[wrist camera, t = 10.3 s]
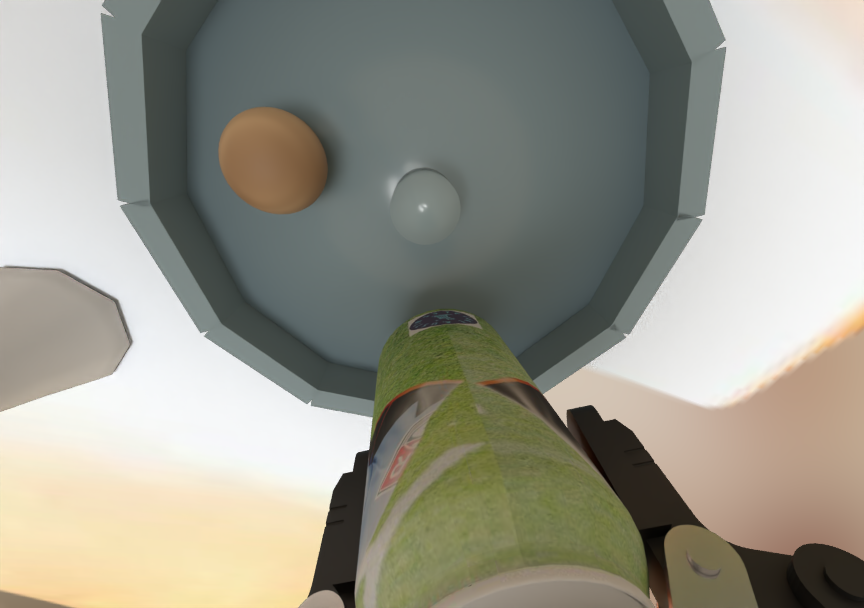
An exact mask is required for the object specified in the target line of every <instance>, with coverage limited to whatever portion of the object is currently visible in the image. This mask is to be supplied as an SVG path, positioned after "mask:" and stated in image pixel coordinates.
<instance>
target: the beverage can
mask: <svg viewBox="0 0 864 608" xmlns="http://www.w3.org/2000/svg"><path fill="white" fill-rule="evenodd" d="M355 605H356V608H655V606H654V604H653V603H652V602H651V600H650V596H649V574H648V566H647V560H646V555H645V550H644V545H643V542H642V538H641V536H640V533H639V531H638V529H637V527H636V525H635V523H634V521H633V519H632V517H631V515H630V513H629V512H628V510H627V509H626V507H625V506H624V505H623V503H622V502H621V501H620V499H619V498H618V496H617V495H616V494H615V492H614V491H613V490H612V488H611V487H610V486H609V484H608V483H607V481H606V480H605V479H604V477H603V476H602V475H601V473H600V472H599V471H598V469H597V468H596V466H595V465H594V464H593V462H592V461H591V460H590V458H589V457H588V456H587V454H586V453H585V451H584V450H583V449H582V447H581V446H580V445H579V443H578V442H577V441H576V439H575V438H574V436H573V435H572V434H571V432H570V431H569V430H568V428H567V427H566V426H565V424H564V423H563V421H562V420H561V419H560V418H559V416H558V415H557V413H556V412H555V411H554V409H553V408H552V406H551V405H550V404H549V403H548V401H547V400H546V398H545V397H544V396H543V394H542V393H541V391H540V390H539V389H538V387H537V386H536V385H535V383H534V382H533V381H532V379H531V378H530V376H529V375H528V374H527V372H526V371H525V370H524V368H523V367H522V366H521V364H520V363H519V361H518V360H517V359H516V357H515V356H514V355H513V353H512V352H511V351H510V349H509V348H508V346H507V345H506V344H505V342H504V341H503V340H502V338H501V337H500V335H499V334H498V333H497V332H496V331H495V329H494V328H493V327H492V326H491V325H490V324H489V323H487V322H486V321H485V320H484V319H482V318H480V317H478V316H476V315H475V314H472V313H469V312H466V311H463V310H457V309H436V310H431V311H427V312H424V313H421V314H418V315H416V316H414V317H412V318H411V319H409V320H407V321H405V322H404V323H403V324H402V325H401V326H399V327H398V328H397V329H396V330H395V331H394V332H393V333H392V335H391V336H390V337H389V338H388V340H387V342H386V344H385V345H384V347H383V349H382V352H381V355H380V358H379V364H378V372H377V382H376V391H375V401H374V411H373V420H372V430H371V439H370V449H369V458H368V468H367V477H366V487H365V497H364V506H363V516H362V525H361V535H360V544H359V554H358V563H357V573H356V582H355Z"/></svg>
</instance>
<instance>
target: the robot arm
mask: <svg viewBox="0 0 864 608" xmlns="http://www.w3.org/2000/svg"><path fill="white" fill-rule="evenodd" d="M567 426H568V430H569V431H570V432H571V434H572V435H573V436H574V438H575V439H576V441H577V442H578V443H579V445H580V446H581V447H582V449H583V450H584V451H585V453H586V454H587V456H588V457H589V458H590V460H591V461H592V462H593V464H594V465H595V466H596V468H597V469H598V471H599V472H600V473H601V475H602V476H603V477H604V479H605V480H606V481H607V483H608V484H609V486H610V487H611V488H612V490H613V491H614V492H615V494H616V495H617V496H618V498H619V499H620V501H621V502H622V503H623V505H624V506H625V507H626V509H627V510H628V512H629V513H630V515H631V517H632V519H633V521H634V523H635V525H636V527H637V529H638V531H639V533H640V536H641V538H642V542H643V545H644V550H645V555H646V560H647V566H648V574H649V587H650V589H651V591H652V593H653V595H654V597H655V599H656V608H864V561H863V560H861V559H860V558H858V557H856V556H854V555H852V554H850V553H848V552H846V551H843V550H841V549H839V548H836V547H833V546H829V545H824V544H816V543H814V544H806V545H802V546H801V547H799V548H798V549H797V550H796V551H795V553H794V555H793V556H791V555H785V554H779V553H772V552H766V551H760V550H753V549H748V548H743V547H740V546H737V545H734V544H732V543H730V542H727V541H725V540H724V539H722V538H721V537H720V536H718V535H717V534H715V533H713V532H711V531H709V530H708V529H707V528H706V527H705V526H704V525H703V524H702V523H701V522H700V521H699V520H698V519H697V518H696V517H695V515H694V514H693V513H692V511H691V510H690V509H689V507H688V506H687V505H686V503H685V502H684V501H683V499H682V498H681V496H680V495H679V494H678V492H677V491H676V490H675V489H674V487H673V486H672V484H671V483H670V482H669V480H668V479H667V478H666V476H665V475H664V473H663V472H662V471H661V469H660V468H659V467H658V465H657V464H655V463H654V460H653V459H652V457H651V456H650V454H649V453H648V452H647V451H646V450H645V449H644V446H643V445H642V444H641V442H640V441H639V440H638V439H637V437H636V435H635V434H634V433H633V431H631V430H630V429H628V428H627V427H626V426H624V425H623V424H621V423H620V422H619V421H617V420H616V419H614V420H609V421H603V420H602V418H601V416H600V415H599V413H598V412H597V410H596V409H595V408H594V407H593V406H592V405H589V406H584V407H579V408H574V409H569V410H567ZM368 458H369V450H367V451H362V452H358V453H357V454H356V457H355V462H354V468H353V472H349V473H344V474H343V475H342V476H341V478H340V480H339V482H338V483H337V485H336V487H335V488H334V490H333V494H332V499H331V503H330V507H329V509H330V511H329V512H328V516H327V521H326V527H325V530H324V534H323V538H322V543H321V547H320V552H319V556H318V560H317V565H316V569H315V574H314V578H313V583H312V587H311V590H310V593H309V595H308V598H307V599H306V600H305V601H304V602H303V603H302V604H301V605H300V606H299V607H298V608H356V605H355V582H356V573H357V563H358V554H359V544H360V535H361V525H362V516H363V506H364V497H365V487H366V477H367V468H368Z"/></svg>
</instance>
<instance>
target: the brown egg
mask: <svg viewBox="0 0 864 608" xmlns="http://www.w3.org/2000/svg"><path fill="white" fill-rule="evenodd" d="M218 153H219V163H220V167H221V170H222V173H223V175H224V177H225V179H226V181H227V183H228V184H229V186H230V187H231V188H232V190H233V191H234V192H235V193H236V194H237V195H238V196H239V197H240V198H241V199H242V200H243V201H245V202H246V203H247V204H249V205H251V206H252V207H254V208H256V209H259V210H261V211H264V212H267V213H272V214H291V213H296V212H299V211H301V210H303V209H305V208H307V207H309V206H310V205H312V204H313V203H314V202H315V201H316V200H317V199H318V197H319V196H320V195H321V193H322V191H323V189H324V187H325V184H326V180H327V173H328V164H327V158H326V154H325V151H324V148H323V146H322V144H321V142H320V140H319V138H318V137H317V135H316V134H315V133H314V131H313V130H312V129H311V128H310V127H309V126H308V125H307V124H306V123H305V122H304V121H302V120H301V119H300V118H298V117H297V116H295V115H293V114H291V113H289V112H287V111H284V110H282V109H278V108H273V107H256V108H251V109H248V110H245V111H243V112H241V113H239V114H238V115H236V116H235V117H234V118H233V119H231V121H230V122H229V123H228V124H227V125H226V127H225V129H224V130H223V132H222V135H221V137H220V141H219V149H218Z"/></svg>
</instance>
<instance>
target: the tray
mask: <svg viewBox="0 0 864 608" xmlns="http://www.w3.org/2000/svg"><path fill="white" fill-rule="evenodd" d="M102 6H103V7H104V8H105V9H106V10H107V11H108V12H110V13H111V14H112V15H113V16H114V17H115V18H114V17H111V16H108V15H106V14H103V13H101V22H102V33H103V44H104V55H105V66H106V77H107V88H108V98H109V109H110V120H111V131H112V142H113V153H114V164H115V175H116V186H117V197H118V200H119V201H123V202H127V203H129V204H125V205H121V206H120V207H121V208H122V210H123V212H124V213H125V215H126V216H127V218H128V219H129V221H130V223H131V224H132V226H133V227H134V229H135V230H136V232H137V234H138V235H139V237H140V238H141V240H142V242H143V243H144V245H145V246H146V248H147V249H148V251H149V253H150V254H151V256H152V257H153V259H154V260H155V262H156V264H157V265H158V267H159V268H160V270H161V271H162V273H163V275H164V276H165V278H166V279H167V281H168V282H169V284H170V286H171V287H172V289H173V290H174V292H175V294H176V295H177V297H178V298H179V300H180V301H181V303H182V305H183V306H184V308H185V309H186V311H187V312H188V314H189V316H190V317H191V319H192V320H193V322H194V323H195V325H196V327H197V328H198V330H199V331H200V333H202V332H206V331H208V332H207V333H206V334H205V336H204V337H206V338H207V339H209V340H210V341H212V342H213V343H215V344H216V345H218V346H219V347H221V348H222V349H224V350H225V351H227V352H229V353H230V354H232V355H233V356H235V357H236V358H238V359H239V360H241V361H242V362H244V363H245V364H247V365H248V366H250V367H251V368H253V369H254V370H256V371H257V372H259V373H260V374H262V375H263V376H265V377H266V378H268V379H269V380H271V381H272V382H274V383H275V384H277V385H279V386H280V387H282V388H283V389H285V390H286V391H288V392H289V393H291V394H292V395H294V396H295V397H297V398H298V399H300V400H301V401H303V402H304V403H306V404H308V403H309V402H310V401H311V400H312V402H311V406H315V407H320V408H325V409H331V410H336V411H341V412H347V413H352V414H357V415H363V416H368V417H373V411H374V401H375V391H376V382H377V372H378V364H379V358H380V355H381V352H382V349H383V347H384V345H385V344H386V342H387V340H388V338H389V337H390V336H391V335H392V333H393V332H394V331H395V330H396V329H397V328H398V327H399V326H401V325H402V324H403V323H404V322H405V321H407V320H409V319H411V318H412V317H414V316H416V315H418V314H421V313H424V312H427V311H431V310H436V309H457V310H463V311H466V312H469V313H472V314H475V315H476V316H478V317H480V318H482V319H484V320H485V321H486V322H487V323H489V324H490V325H491V326H492V327H493V328H494V329H495V331H496V332H497V333H498V334H499V335H500V337H501V338H502V340H503V341H504V342H505V344H506V345H507V346H508V348H509V349H510V351H511V352H512V353H513V355H514V356H515V357H516V359H517V360H518V361H519V363H520V364H521V366H522V367H523V368H524V370H525V371H526V372H527V374H528V375H529V376H530V378H531V379H532V381H533V382H534V383H535V385H536V386H537V387H538V389H539V390H540V391H541V393H542V394H544V393H545V392H547V391H548V390H550V389H551V388H553V387H554V386H556V385H557V384H558V383H560V382H561V381H563V380H564V379H566V378H567V377H569V376H570V375H572V374H573V373H574V372H576V371H578V370H579V369H581V368H582V367H583V366H585V365H586V364H588V363H589V362H591V361H592V360H594V359H595V358H597V357H598V356H600V355H601V354H603V353H604V352H606V351H607V350H609V349H610V348H611V347H613V346H614V345H616V344H617V343H619V342H620V341H622V340H623V339H625V338H626V337H625V336H624V334H623V333H626V334H630V332H631V331H632V329H633V328H634V326H635V325H636V323H637V321H638V320H639V318H640V317H641V315H642V314H643V312H644V311H645V309H646V307H647V306H648V304H649V303H650V301H651V300H652V298H653V296H654V295H655V293H656V292H657V290H658V289H659V287H660V286H661V284H662V282H663V281H664V279H665V278H666V276H667V275H668V273H669V271H670V270H671V268H672V267H673V265H674V264H675V262H676V261H677V259H678V257H679V256H680V254H681V253H682V251H683V250H684V248H685V246H686V245H687V243H688V242H689V240H690V239H691V237H692V236H693V234H694V232H695V231H696V229H697V228H698V226H699V225H700V223H701V221H702V219H699V218H696V217H697V216H701V215H705V207H706V199H707V192H708V184H709V176H710V168H711V161H712V153H713V145H714V138H715V130H716V122H717V114H718V107H719V99H720V91H721V83H722V76H723V68H724V60H725V52H726V47H724V48H720V49H716V48H717V47H718V46H719V45H720V44H722V43H723V42H724V41H725V38H724V35H723V33H722V30H721V28H720V26H719V23H718V21H717V18H716V16H715V14H714V11H713V9H712V6H711V4H710V1H709V0H105V1H104V3H103V4H102ZM715 49H716V50H715ZM256 107H273V108H278V109H282V110H284V111H287V112H289V113H291V114H293V115H295V116H297V117H298V118H300V119H301V120H302V121H304V122H305V123H306V124H307V125H308V126H309V127H310V128H311V129H312V130H313V131H314V133H315V134H316V135H317V137H318V138H319V140H320V142H321V144H322V146H323V148H324V151H325V154H326V158H327V164H328V173H327V180H326V184H325V187H324V189H323V191H322V193H321V195H320V196H319V197H318V199H317V200H316V201H315V202H314V203H313V204H312V205H310V206H309V207H307V208H305V209H303V210H301V211H299V212H296V213H291V214H272V213H267V212H264V211H261V210H259V209H256V208H254V207H252V206H251V205H249V204H247V203H246V202H245V201H243V200H242V199H241V198H240V197H239V196H238V195H237V194H236V193H235V192H234V191H233V190H232V188H231V187H230V186H229V184H228V183H227V181H226V179H225V177H224V175H223V173H222V170H221V167H220V163H219V153H218V149H219V141H220V137H221V135H222V132H223V130H224V129H225V127H226V125H227V124H228V123H229V122H230V121H231V119H233V118H234V117H235V116H236V115H238V114H239V113H241V112H243V111H245V110H248V109H251V108H256Z"/></svg>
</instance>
